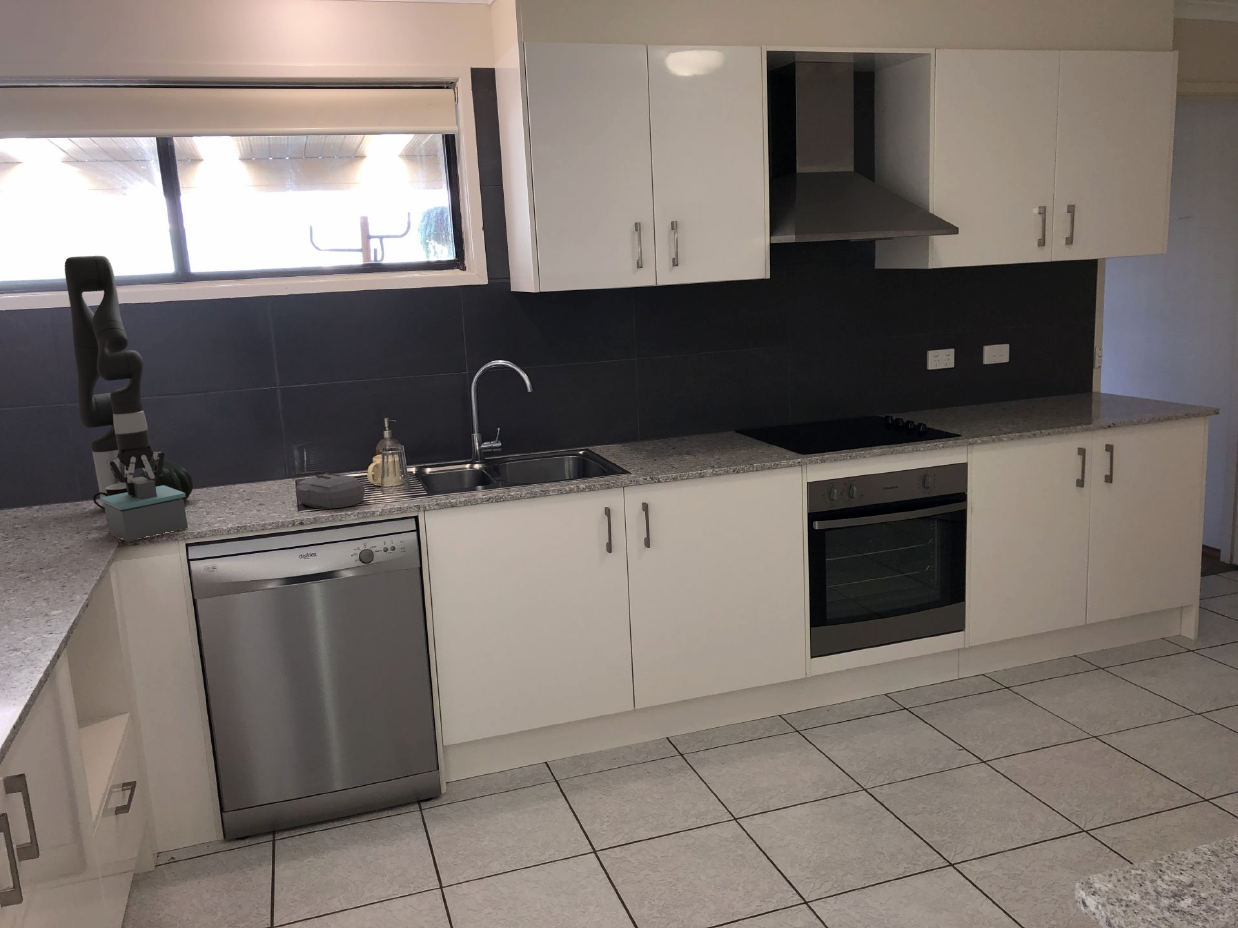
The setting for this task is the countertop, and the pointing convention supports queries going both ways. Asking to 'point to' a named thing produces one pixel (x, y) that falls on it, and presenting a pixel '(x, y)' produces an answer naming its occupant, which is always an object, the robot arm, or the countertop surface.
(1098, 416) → the countertop surface
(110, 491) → the coffee mug
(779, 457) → the countertop surface
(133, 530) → the storage box
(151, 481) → the lid
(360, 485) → the soft grey pack
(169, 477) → the squash
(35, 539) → the countertop surface
